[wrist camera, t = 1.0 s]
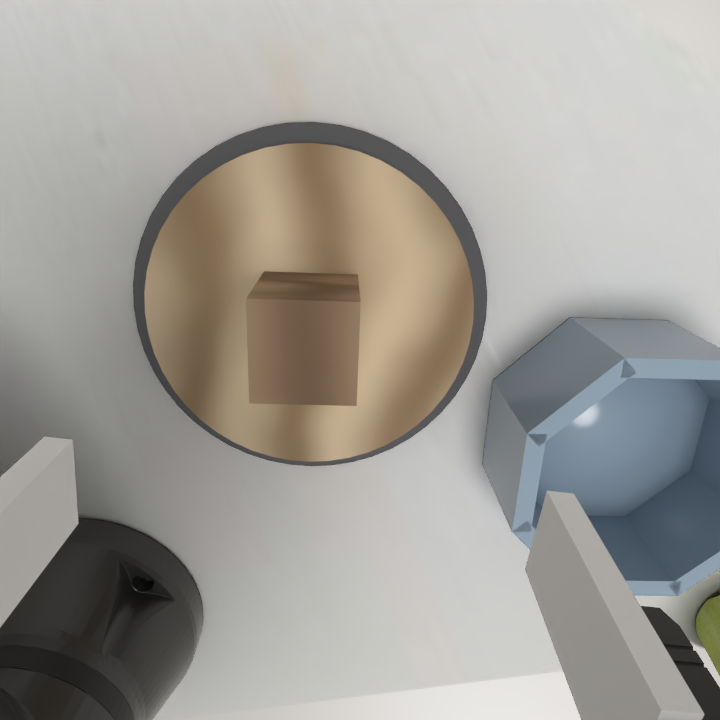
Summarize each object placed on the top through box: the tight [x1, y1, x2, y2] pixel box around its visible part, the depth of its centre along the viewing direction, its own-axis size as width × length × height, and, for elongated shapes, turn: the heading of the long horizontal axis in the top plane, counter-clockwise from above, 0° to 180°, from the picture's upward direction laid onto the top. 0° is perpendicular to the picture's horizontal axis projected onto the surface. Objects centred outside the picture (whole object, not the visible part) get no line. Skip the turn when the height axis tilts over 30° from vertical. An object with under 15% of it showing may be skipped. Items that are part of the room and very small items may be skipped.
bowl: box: [482, 317, 720, 596], centre depth 33 cm, size 14×14×7 cm
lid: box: [144, 143, 474, 462], centre depth 29 cm, size 18×18×7 cm
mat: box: [133, 122, 487, 466], centre depth 33 cm, size 20×20×1 cm
